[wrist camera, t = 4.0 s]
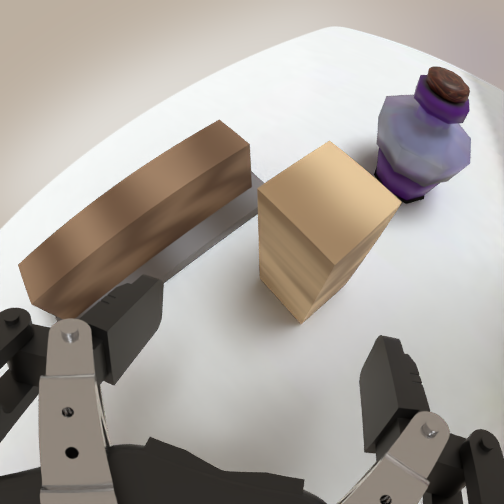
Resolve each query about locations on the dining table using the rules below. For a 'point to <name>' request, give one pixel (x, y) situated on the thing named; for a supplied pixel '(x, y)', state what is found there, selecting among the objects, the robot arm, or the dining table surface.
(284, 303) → the wooden block
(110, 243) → the chalkboard eraser
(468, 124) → the dining table surface
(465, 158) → the potion bottle
